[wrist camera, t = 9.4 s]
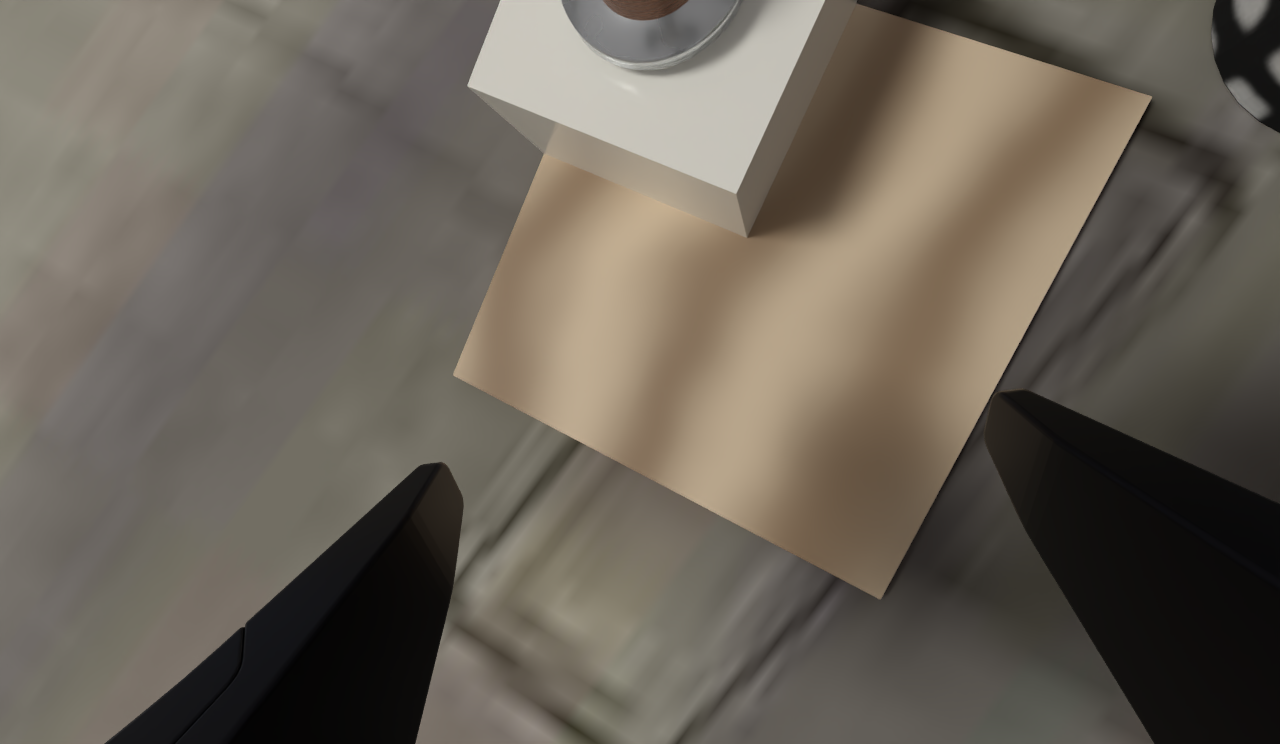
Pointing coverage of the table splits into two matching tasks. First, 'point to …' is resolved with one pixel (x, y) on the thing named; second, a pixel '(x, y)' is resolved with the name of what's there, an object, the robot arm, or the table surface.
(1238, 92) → the white-spotted black cylinder
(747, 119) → the white square block
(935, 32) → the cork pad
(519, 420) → the table surface
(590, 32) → the plunger
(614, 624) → the table surface
